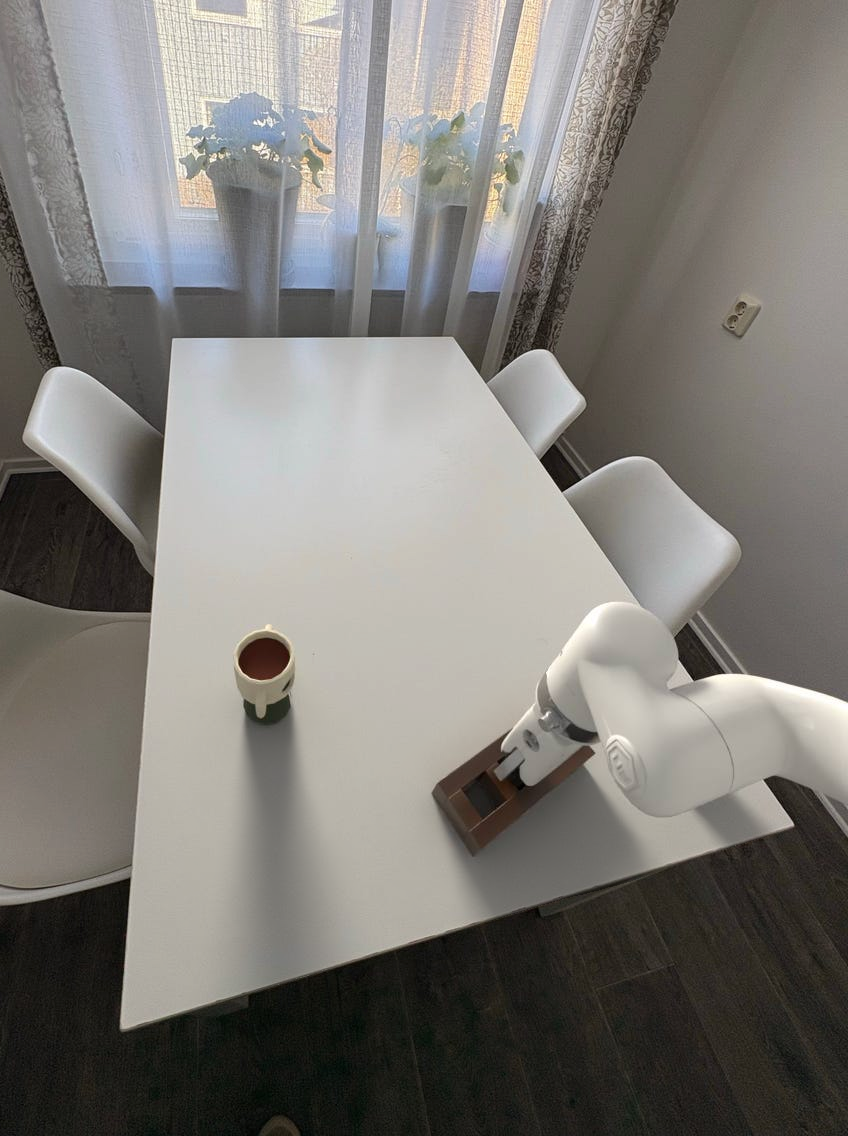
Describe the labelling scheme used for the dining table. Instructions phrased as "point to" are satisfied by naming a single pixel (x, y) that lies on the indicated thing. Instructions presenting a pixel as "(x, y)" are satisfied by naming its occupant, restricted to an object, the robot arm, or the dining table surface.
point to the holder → (495, 794)
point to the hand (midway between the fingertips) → (520, 764)
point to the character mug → (265, 674)
